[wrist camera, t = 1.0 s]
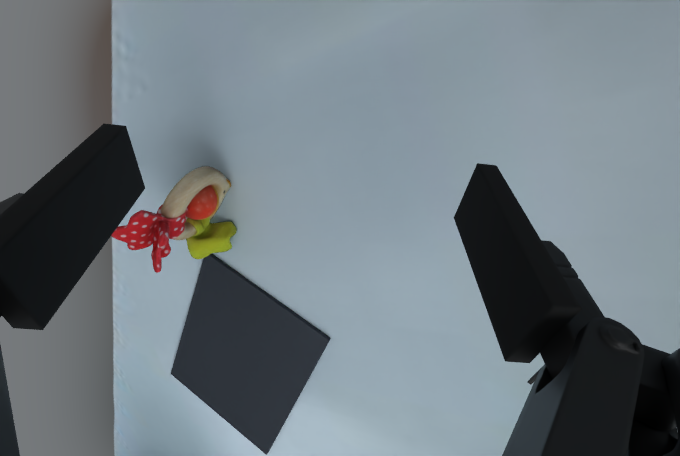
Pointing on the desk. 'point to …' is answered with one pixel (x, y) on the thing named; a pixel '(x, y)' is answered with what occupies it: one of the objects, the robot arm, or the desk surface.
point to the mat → (245, 352)
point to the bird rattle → (183, 219)
